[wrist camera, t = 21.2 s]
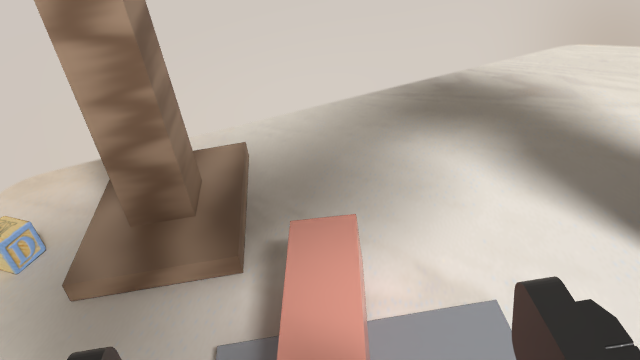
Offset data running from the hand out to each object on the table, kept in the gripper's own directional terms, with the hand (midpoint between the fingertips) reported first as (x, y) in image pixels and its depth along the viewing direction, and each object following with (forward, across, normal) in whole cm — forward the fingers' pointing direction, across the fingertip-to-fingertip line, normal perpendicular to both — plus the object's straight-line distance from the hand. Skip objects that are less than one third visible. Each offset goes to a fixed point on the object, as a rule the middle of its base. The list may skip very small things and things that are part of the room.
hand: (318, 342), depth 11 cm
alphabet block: (+27, +24, +16) cm, 40 cm away
